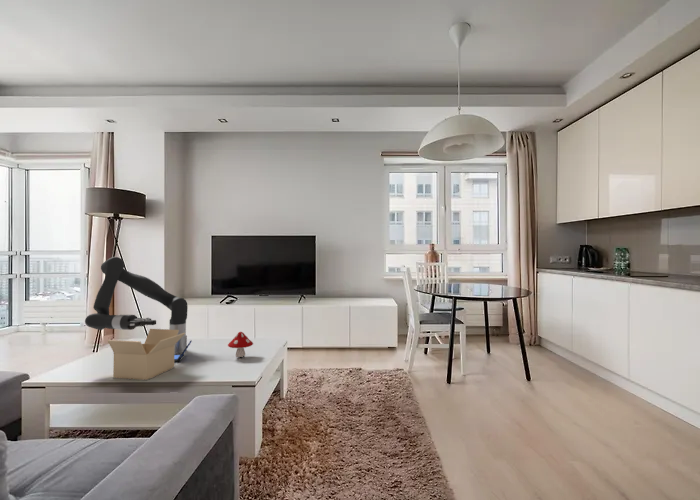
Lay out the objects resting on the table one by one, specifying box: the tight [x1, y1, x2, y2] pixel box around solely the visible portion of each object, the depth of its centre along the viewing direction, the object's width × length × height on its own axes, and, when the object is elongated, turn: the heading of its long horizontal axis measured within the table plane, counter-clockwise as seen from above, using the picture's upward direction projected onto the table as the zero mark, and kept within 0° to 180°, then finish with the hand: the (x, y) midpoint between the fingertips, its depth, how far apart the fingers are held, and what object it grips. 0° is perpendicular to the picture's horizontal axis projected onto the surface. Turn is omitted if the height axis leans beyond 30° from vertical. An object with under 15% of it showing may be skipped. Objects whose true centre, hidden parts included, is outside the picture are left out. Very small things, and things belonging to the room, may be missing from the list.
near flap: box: [148, 333, 185, 354], centre depth 180 cm, size 19×9×1 cm
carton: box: [107, 328, 179, 381], centre depth 182 cm, size 28×19×19 cm, turn 170°
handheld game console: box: [174, 340, 192, 364], centre depth 207 cm, size 16×13×9 cm
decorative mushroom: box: [227, 331, 254, 358], centre depth 210 cm, size 14×14×15 cm
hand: (155, 322), depth 182 cm, fingers closed
